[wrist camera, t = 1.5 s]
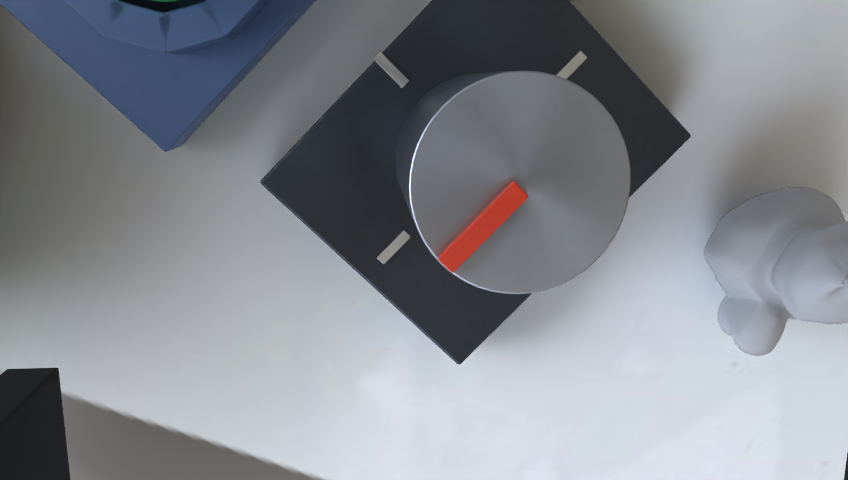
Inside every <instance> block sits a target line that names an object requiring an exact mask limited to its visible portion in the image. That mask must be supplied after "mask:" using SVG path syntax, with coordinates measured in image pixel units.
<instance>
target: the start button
mask: <svg viewBox="0 0 848 480" xmlns="http://www.w3.org/2000/svg"><path fill="white" fill-rule="evenodd" d="M151 1H158V2H173V1H179V0H151Z"/></svg>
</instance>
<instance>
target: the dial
mask: <svg viewBox="0 0 848 480" xmlns="http://www.w3.org/2000/svg"><path fill="white" fill-rule="evenodd" d="M396 172H397V177H398V181H399V185H400V187H401V190H402V193H403V195H404V198H405V200H406V203H407V205H408V208H409V210H410V213H411V215H412V218H413V220H414V223H415V225H416V228H417V230H418V232H419V234H420V236H421V238H422V240H423V242H424V244H425V245H426V247H427V248H428V249H429V251H430V252H431V254H432V255H433V256H434V257H435V258H436V259H437V260H438V262H439V263H440V264H441V265H442V266H443V267H445V268H446V269H447V270H448V271H449V272H451V273H452V274H453V275H455V276H456V277H458V278H460V279H461V280H463V281H464V282H466V283H469V284H471V285H473V286H475V287H478V288H481V289H484V290H488V291H491V292H497V293H503V294H527V293H535V292H539V291H544V290H548V289H550V288H553V287H556V286H559V285H561V284H563V283H565V282H567V281H569V280H571V279H573V278H574V277H576V276H577V275H579V274H580V273H582V272H583V271H585V270H586V269H587V268H588V267H589V266H590V265H592V264H593V263H594V262H595V261H596V260H597V259H598V258H599V257H600V256H601V254H602V253H603V252H604V251H605V250H606V248H607V247H608V246H609V244H610V243H611V241H612V240H613V238H614V237H615V235H616V233H617V231H618V229H619V227H620V225H621V223H622V220H623V217H624V215H625V212H626V208H627V204H628V200H629V193H630V184H631V183H630V164H629V157H628V152H627V149H626V145H625V142H624V139H623V137H622V135H621V132H620V130H619V128H618V126H617V124H616V123H615V121H614V119H613V118H612V116H611V115H610V114H609V112H608V111H607V110H606V109H605V107H604V106H603V105H602V104H601V103H600V102H599V101H598V100H597V99H596V98H595V97H594V96H593V95H592V94H590V93H589V92H587V91H586V90H585V89H583V88H582V87H580V86H579V85H577V84H575V83H573V82H571V81H569V80H567V79H564V78H562V77H559V76H556V75H553V74H548V73H544V72H539V71H524V70H523V71H502V72H482V73H469V74H464V75H460V76H457V77H454V78H451V79H448V80H446V81H444V82H442V83H440V84H438V85H437V86H435V87H434V88H432V89H431V90H430V91H428V92H427V93H426V94H425V95H424V96H423V97H422V98H421V99H420V100H419V101H418V102H417V103H416V104H415V106H414V107H413V108H412V110H411V111H410V113H409V114H408V116H407V117H406V119H405V122H404V124H403V126H402V128H401V131H400V134H399V137H398V142H397V148H396Z"/></svg>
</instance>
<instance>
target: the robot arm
mask: <svg viewBox="0 0 848 480" xmlns="http://www.w3.org/2000/svg"><path fill="white" fill-rule="evenodd" d="M0 480H70V473H69V463H68V454H67V445H66V435H65V426H64V417H63V408H62V399H61V388H60V379H59V370H58V368H33V369H7V370H6V371H5V372H3V373H2V374H1V375H0ZM844 480H848V454H847V462H846V469H845V477H844Z"/></svg>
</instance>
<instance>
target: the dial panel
mask: <svg viewBox="0 0 848 480" xmlns="http://www.w3.org/2000/svg"><path fill="white" fill-rule="evenodd" d="M373 60H374V62H373V63H372V64H371V65H370V66H369V67H368V68H367V69H366V71H365V72H364V73H363V74H362V75H361V76H360V77H359V78H358V79H357V80H356V81H355V82H354V83H353V84H352V85H351V86H350V87H349V88H348V89H347V90H346V92H345V93H344V94H343V95H342V96H341V97H340V98H339V99H338V100H337V101H336V102H335V103H334V104H333V105H332V106H331V107H330V108H329V109H328V110H327V111H326V113H325V114H324V115H323V116H322V117H321V118H320V119H319V120H318V121H317V122H316V123H315V124H314V125H313V126H312V127H311V128H310V129H309V130H308V131H307V133H306V134H305V135H304V136H303V137H302V138H301V139H300V140H299V141H298V142H297V143H296V144H295V145H294V146H293V147H292V148H291V149H290V150H289V151H288V152H287V154H286V155H285V156H284V157H283V158H282V159H281V160H280V161H279V162H278V163H277V164H276V165H275V166H274V167H273V168H272V169H271V170H270V171H269V172H268V173H267V175H266V176H265V177H264V178H263V179H262V180H261V184H262V185H263V186H264V187H265V188H266V189H267V190H268V191H269V192H270V193H271V194H273V195H274V196H275V197H276V198H277V199H278V200H279V201H280V202H281V203H282V204H283V205H285V206H286V207H287V208H288V209H289V210H290V211H291V212H292V213H293V214H294V215H295V216H297V217H298V218H299V219H300V220H301V221H302V222H303V223H304V224H305V225H306V226H307V227H309V228H310V229H311V230H312V231H313V232H314V233H315V234H316V235H317V236H318V237H319V238H321V239H322V240H323V241H324V242H325V243H326V244H327V245H328V246H329V247H330V248H331V249H333V250H334V251H335V252H336V253H337V254H338V255H339V256H340V257H341V258H342V259H343V260H345V261H346V262H347V263H348V264H349V265H350V266H351V267H352V268H353V269H354V270H355V271H357V272H358V273H359V274H360V275H361V276H362V277H363V278H364V279H365V280H366V281H367V282H369V283H370V284H371V285H372V286H373V287H374V288H375V289H376V290H377V291H378V292H379V293H381V294H382V295H383V296H384V297H385V298H386V299H387V300H388V301H389V302H390V303H391V304H393V305H394V306H395V307H396V308H397V309H398V310H399V311H400V312H401V313H402V314H403V315H405V316H406V317H407V318H408V319H409V320H410V321H411V322H412V323H413V324H414V325H415V326H417V327H418V328H419V329H420V330H421V331H422V332H423V333H424V334H425V335H426V336H427V337H429V338H430V339H431V340H432V341H433V342H434V343H435V344H436V345H437V346H438V347H440V348H441V349H442V350H443V351H444V352H445V353H446V354H447V355H448V356H449V357H450V358H452V359H453V360H454V361H455V362H456V363H457V364H461V363H462V362H463V361H464V360H465V359H466V358H467V357H468V356H469V355H470V354H471V353H472V352H473V351H474V350H475V349H476V348H477V347H478V346H479V345H480V344H481V343H482V342H483V341H484V340H485V339H486V338H487V337H488V336H489V335H490V334H491V333H492V332H493V331H494V330H495V329H496V328H497V327H498V326H499V325H500V324H501V323H502V322H504V321H505V320H506V319H507V318H508V317H509V316H510V315H511V314H512V313H513V312H514V311H515V310H516V309H517V308H518V307H519V306H520V305H521V304H522V303H523V302H524V301H525V300H526V299H527V298H528V297H529V296H530V295H531V294H532V293H527V294H503V293H497V292H491V291H488V290H484V289H481V288H478V287H475V286H473V285H471V284H469V283H466V282H464V281H463V280H461V279H460V278H458V277H456V276H455V275H453V274H452V273H451V272H449V271H448V270H447V269H446V268H445V267H443V266H442V265H441V264H440V263H439V262H438V260H437V259H436V258H435V257H434V256H433V255H432V254H431V252H430V251H429V249H428V248H427V247H426V245H425V244H424V242H423V240H422V238H421V236H420V234H419V232H418V230H417V228H416V225H415V223H414V220H413V218H412V215H411V213H410V210H409V208H408V205H407V203H406V200H405V198H404V195H403V193H402V190H401V187H400V185H399V181H398V177H397V172H396V148H397V142H398V137H399V134H400V131H401V128H402V126H403V124H404V122H405V119H406V117H407V116H408V114H409V113H410V111H411V110H412V108H413V107H414V106H415V104H416V103H417V102H418V101H419V100H420V99H421V98H422V97H423V96H424V95H425V94H426V93H427V92H428V91H430V90H431V89H432V88H434V87H435V86H437V85H438V84H440V83H442V82H444V81H446V80H448V79H451V78H454V77H457V76H460V75H464V74H469V73H482V72H502V71H523V70H524V71H539V72H544V73H548V74H553V75H556V76H559V77H562V78H564V79H567V80H569V81H571V82H573V83H575V84H577V85H579V86H580V87H582V88H583V89H585V90H586V91H587V92H589V93H590V94H592V95H593V96H594V97H595V98H596V99H597V100H598V101H599V102H600V103H601V104H602V105H603V106H604V107H605V109H606V110H607V111H608V112H609V114H610V115H611V116H612V118H613V119H614V121H615V123H616V124H617V126H618V128H619V130H620V132H621V135H622V137H623V139H624V142H625V145H626V149H627V152H628V157H629V164H630V183H631V184H630V193H629V197H630V196H631V195H632V194H633V193H634V192H635V191H636V190H637V189H638V188H639V187H640V186H641V185H642V184H643V183H644V182H645V181H646V180H647V179H648V178H649V177H650V176H651V175H653V174H654V173H655V172H656V171H657V170H658V169H659V168H660V167H661V166H662V165H663V164H664V163H665V162H666V161H667V160H668V159H669V158H670V157H671V156H672V155H673V154H674V153H675V152H676V151H677V150H678V149H679V148H680V147H681V146H682V145H683V144H684V143H685V142H686V141H687V140H688V139H689V138H690V134H689V133H688V131H687V130H686V129H685V128H684V127H683V126H682V125H681V124H680V123H679V121H678V120H677V119H676V118H675V117H674V116H673V115H672V114H671V113H670V112H669V110H668V109H667V108H666V107H665V106H664V105H663V104H662V103H661V102H660V101H659V99H658V98H657V97H656V96H655V95H654V94H653V93H652V92H651V91H650V90H649V88H648V87H647V86H646V85H645V84H644V83H643V82H642V81H641V80H640V79H639V77H638V76H637V75H636V74H635V73H634V72H633V71H632V70H631V69H630V67H629V66H628V65H627V64H626V63H625V62H624V61H623V60H622V59H621V58H620V56H619V55H618V54H617V53H616V52H615V51H614V50H613V49H612V48H611V47H610V45H609V44H608V43H607V42H606V41H605V40H604V39H603V38H602V37H601V36H600V34H599V33H598V32H597V31H596V30H595V29H594V28H593V27H592V26H591V25H590V23H589V22H588V21H587V20H586V19H585V18H584V17H583V16H582V15H581V13H580V12H579V11H578V10H577V9H576V8H575V7H574V6H573V5H572V4H571V2H570V1H569V0H432V1H431V2H430V3H429V4H428V5H427V6H426V7H425V9H424V10H423V11H422V12H421V13H420V14H419V15H418V16H417V17H416V18H415V19H414V20H413V21H412V22H411V23H410V24H409V25H408V26H407V27H406V29H405V30H404V31H403V32H402V33H401V34H400V35H399V36H398V37H397V38H396V39H395V40H394V41H393V42H392V43H391V44H390V45H389V46H388V47H387V48H386V50H385V51H384V52H383V53H381V52H379V53H378V54H377V55H376V56H375V57H374V58H373Z"/></svg>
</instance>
